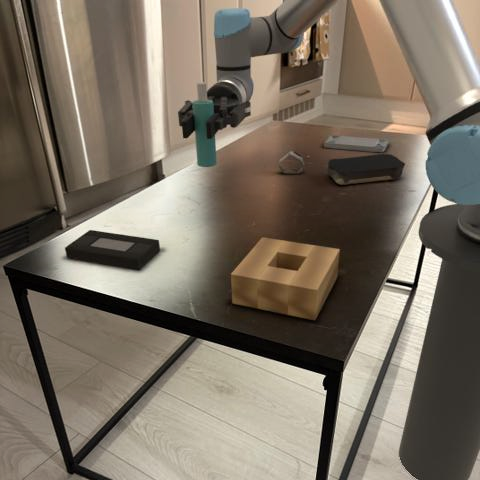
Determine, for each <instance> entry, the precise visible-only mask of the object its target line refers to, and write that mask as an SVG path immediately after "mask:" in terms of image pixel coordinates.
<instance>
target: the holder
mask: <svg viewBox="0 0 480 480" xmlns="http://www.w3.org/2000/svg"><path fill="white" fill-rule="evenodd" d="M340 250H341V249H340V248H334V247H329V246H323V245H314V244H310V243H309V244H308V243H302V242H295V241H290V240H284V239H283V240H282V239H278V238H277V239H276V238H270V237H261V238H260V239H259V241H258V242H257V243H256V244H255V245H254V246H253V248H251V250H250V251H249V252H248V253H247V254H246V256H245V257H244V258H243V259H242V261H241V262H239V264H238V265H237V266H236V267H235V268H234V270H233V271H232V272H231V273H230V281H231V282H230V283H231V284H230V285H231V303H232V304H233V305H238V306H243V307H247V308H253V309H258V310H263V311H267V312H271V313H277V314H282V315H285V316H291V317H296V318H301V319H306V320H310V321H316V320H317V318H318V316H319V314H320V312H321V310H322V308H323V307H324V304H325V302H326V301H327V298H328V296H329V295H330V293H331V290H332V289H333V286H334V285H335V283H336V281H337V279H338V273H339V262H340V254H341V253H340Z"/></svg>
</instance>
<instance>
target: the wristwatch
mask: <svg viewBox="0 0 480 480" xmlns="http://www.w3.org/2000/svg"><path fill="white" fill-rule="evenodd" d="M289 157H292V158H294V159H295V160H297V161H299V162H300V163H301V168H299V170H294V169H287V168H283V167H282V166H281V163H282V162H284V161H285V160H286V159H287V158H289ZM277 167H278V169H279V170H280V171H281V172H282V173H283V174H286V175H297V174H301V173H302V172H303V171H304V169H305V163H304V160H303V157H302V156H301V155H300V154H299V153H298V152H295V151H292V150H291V151H288V152H287V153H285V155H283V157H281V158H280V159H279V160H278V162H277Z"/></svg>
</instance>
